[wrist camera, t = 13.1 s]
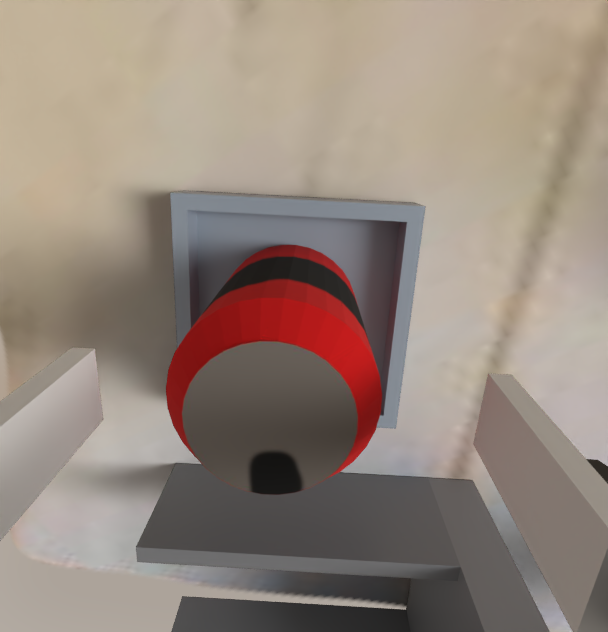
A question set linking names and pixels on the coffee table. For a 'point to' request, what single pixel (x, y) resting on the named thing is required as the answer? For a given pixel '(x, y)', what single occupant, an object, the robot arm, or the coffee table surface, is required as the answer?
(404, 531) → the gray open box
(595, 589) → the robot arm
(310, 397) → the soda can
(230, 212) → the tray
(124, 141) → the coffee table surface
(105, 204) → the coffee table surface
